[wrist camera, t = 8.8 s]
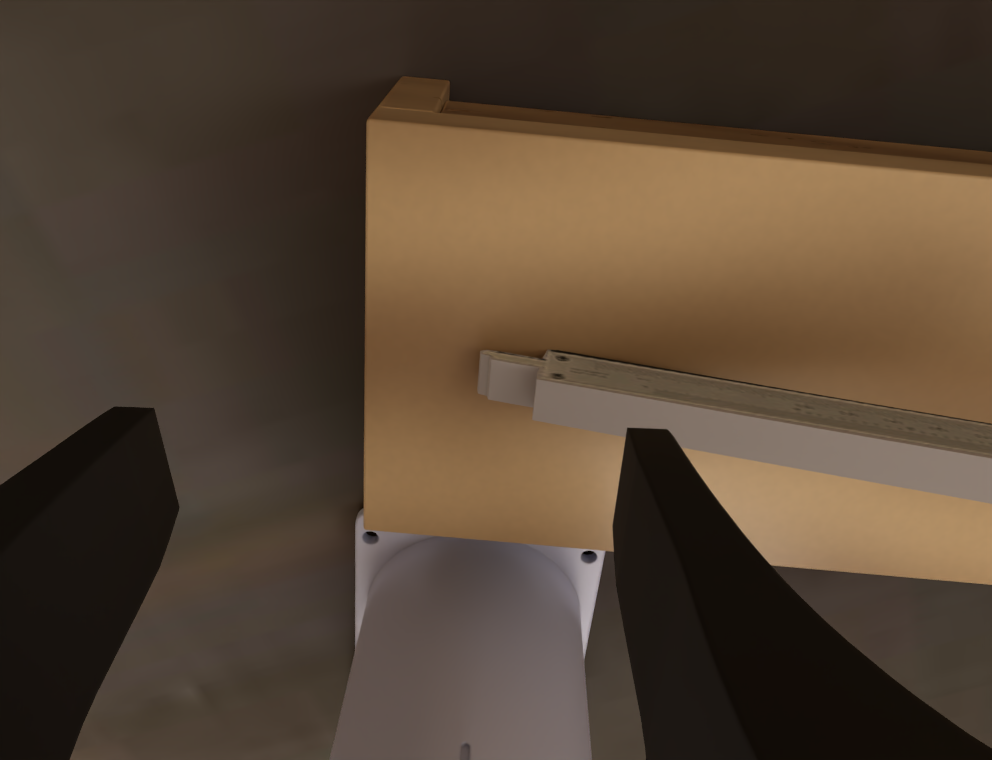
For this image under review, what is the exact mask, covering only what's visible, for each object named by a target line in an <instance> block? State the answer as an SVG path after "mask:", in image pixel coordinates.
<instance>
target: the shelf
mask: <svg viewBox="0 0 992 760" xmlns="http://www.w3.org/2000/svg"><path fill="white" fill-rule="evenodd" d="M449 94H450V82H449V81H448V80H439V79H428V78H418V77H407V76H402V77H401V78H400V79H399V81H398V82H397V83H396V84H395V85H394V87H393V88H392V89H391V90H390V92H389V93H388V94H387V95H386V97H385V98H384V99H383V100H382V102H381V103H380V104H379V105H378V107H377V108H376V109H375V110H374V112H373V113H372V114H371V115H370V117H369V118H368V119H367V121H366V242H365V379H364V517H363V527H364V529H365V530H372V531H384V532H395V533H407V534H418V535H430V536H441V537H452V538H464V539H475V540H487V541H498V542H510V543H521V544H532V545H544V546H555V547H567V548H578V549H590V550H601V551H612V552H614V546H613V529H612V525H613V518H614V512H615V505H616V498H617V492H618V485H619V478H620V472H621V465H622V458H623V452H624V445H625V439H626V437H622V436H616V435H611V434H605V433H600V432H595V431H589V430H584V429H578V428H573V427H567V426H562V425H556V424H551V423H546V422H540V421H535V420H532V416H533V407H527V406H521V405H515V404H510V403H504V402H499V401H494V400H489V399H488V398H487V396H485V395H481V394H478V391H477V387H478V373H479V360H480V351H482V350H493V351H501V352H507V353H513V354H518V355H523V356H529V357H534V358H540V359H542V358H543V356H544V355H545V353H546V351H547V350H560V351H566V352H572V353H577V354H583V355H589V356H595V357H601V358H607V359H613V360H618V361H624V362H630V363H636V364H642V365H648V366H654V367H659V368H665V369H671V370H677V371H683V372H689V373H695V374H700V375H706V376H712V377H718V378H724V379H730V380H736V381H741V382H747V383H753V384H759V385H765V386H771V387H777V388H782V389H788V390H794V391H800V392H806V393H812V394H818V395H823V396H829V397H835V398H841V399H847V400H853V401H859V402H864V403H870V404H876V405H882V406H888V407H894V408H900V409H906V410H913V411H919V412H925V413H931V414H937V415H943V416H949V417H955V418H961V419H967V420H973V421H979V422H985V423H991V424H992V152H986V151H976V150H965V149H955V148H944V147H934V146H923V145H912V144H902V143H891V142H881V141H870V140H859V139H849V138H838V137H828V136H817V135H806V134H796V133H785V132H775V131H764V130H754V129H743V128H732V127H722V126H711V125H701V124H690V123H679V122H669V121H658V120H648V119H637V118H626V117H616V116H605V115H595V114H584V113H573V112H563V111H552V110H542V109H531V108H521V107H510V106H499V105H489V104H478V103H468V102H457V101H449ZM681 448H682V447H681ZM682 450H683V451H684V453H685V454H686V456H687V457H688V459H689V460H690V462H691V463H692V465H693V466H694V468H695V469H696V470H697V472H698V473H699V475H700V476H701V478H702V479H703V480H704V482H705V483H706V485H707V486H708V487H709V489H710V490H711V492H712V493H713V494H714V496H715V497H716V498H717V500H718V501H719V502H720V504H721V505H722V506H723V508H724V509H725V510H726V511H727V513H728V514H729V515H730V517H731V518H732V519H733V520H734V522H735V523H736V524H737V526H738V527H739V528H740V529H741V531H742V532H743V533H744V534H745V536H746V537H747V538H748V539H749V540H750V542H751V543H752V544H753V545H754V547H755V548H756V549H757V550H758V551H759V552H760V553H761V555H762V556H763V557H764V558H765V559H766V560H767V561H768V563H769V564H770V565H772V566H784V567H795V568H807V569H818V570H830V571H841V572H853V573H864V574H875V575H887V576H898V577H910V578H921V579H933V580H944V581H955V582H967V583H978V584H990V585H992V504H990V503H985V502H979V501H974V500H968V499H963V498H957V497H952V496H946V495H941V494H935V493H929V492H924V491H918V490H913V489H907V488H902V487H896V486H891V485H885V484H880V483H874V482H869V481H863V480H858V479H852V478H847V477H841V476H835V475H830V474H824V473H819V472H813V471H808V470H802V469H797V468H791V467H786V466H780V465H775V464H769V463H764V462H758V461H753V460H747V459H742V458H736V457H731V456H725V455H720V454H714V453H709V452H703V451H698V450H693V449H687V448H682Z"/></svg>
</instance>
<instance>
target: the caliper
mask: <svg viewBox="0 0 992 760" xmlns="http://www.w3.org/2000/svg"><path fill="white" fill-rule="evenodd" d="M477 391H478V394H481V395H485V396H487V398H488V399H489V400H494V401H499V402H504V403H510V404H515V405H521V406H527V407H533V416H532V420H535V421H540V422H546V423H551V424H556V425H562V426H567V427H573V428H578V429H584V430H589V431H595V432H600V433H605V434H611V435H616V436H622V437H626V432H627V428H652V429H668V430H669V431H670V432H671V434H672V435H673V436H674V437H675V439H676V440H677V442H678V444H679V445H680V447H682V448H687V449H693V450H698V451H703V452H709V453H714V454H720V455H725V456H731V457H736V458H742V459H747V460H753V461H758V462H764V463H769V464H775V465H780V466H786V467H791V468H797V469H802V470H808V471H813V472H819V473H824V474H830V475H835V476H841V477H847V478H852V479H858V480H863V481H869V482H874V483H880V484H885V485H891V486H896V487H902V488H907V489H913V490H918V491H924V492H929V493H935V494H941V495H946V496H952V497H957V498H963V499H968V500H974V501H979V502H985V503H990V504H992V424H991V423H985V422H979V421H973V420H967V419H961V418H955V417H949V416H943V415H937V414H931V413H925V412H919V411H913V410H906V409H900V408H894V407H888V406H882V405H876V404H870V403H864V402H859V401H853V400H847V399H841V398H835V397H829V396H823V395H818V394H812V393H806V392H800V391H794V390H788V389H782V388H777V387H771V386H765V385H759V384H753V383H747V382H741V381H736V380H730V379H724V378H718V377H712V376H706V375H700V374H695V373H689V372H683V371H677V370H671V369H665V368H659V367H654V366H648V365H642V364H636V363H630V362H624V361H618V360H613V359H607V358H601V357H595V356H589V355H583V354H577V353H572V352H566V351H560V350H547V351H546V353H545V355H544V356H543V358H542V359H540V358H534V357H529V356H523V355H518V354H513V353H507V352H501V351H493V350H482V351H480V360H479V373H478V387H477Z"/></svg>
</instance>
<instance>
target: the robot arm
mask: <svg viewBox="0 0 992 760" xmlns="http://www.w3.org/2000/svg"><path fill="white" fill-rule="evenodd" d="M178 511H179V504H178V500H177V496H176V492H175V488H174V484H173V480H172V476H171V473H170V469H169V465H168V461H167V457H166V453H165V449H164V445H163V441H162V437H161V433H160V429H159V425H158V422H157V418H156V414H155V410H154V408H138V407H113V408H111V409H110V410H108V411H107V412H105V413H103V414H102V415H100V416H99V417H97V418H96V419H94V420H93V421H91V422H90V423H88V424H87V425H85V426H84V427H83V428H81V429H80V430H78V431H77V432H75V433H74V434H73V435H71V436H70V437H68V438H67V439H66V440H64V441H63V442H61V443H60V444H59V445H57V446H56V447H54V448H53V449H51V450H50V451H49V452H47V453H46V454H44V455H43V456H42V457H40V458H39V459H37V460H36V461H34V462H33V463H32V464H30V465H29V466H27V467H26V468H24V469H23V470H21V471H20V472H19V473H17V474H16V475H14V476H13V477H11V478H10V479H9V480H7V481H6V482H4V483H3V484H1V485H0V760H69V759H70V757H71V754H72V751H73V749H74V746H75V743H76V741H77V738H78V735H79V733H80V730H81V728H82V725H83V723H84V720H85V718H86V716H87V714H88V711H89V709H90V707H91V705H92V703H93V700H94V698H95V696H96V694H97V692H98V690H99V688H100V686H101V684H102V682H103V680H104V678H105V676H106V674H107V672H108V670H109V668H110V666H111V664H112V662H113V660H114V658H115V656H116V654H117V652H118V650H119V648H120V646H121V644H122V642H123V640H124V638H125V636H126V634H127V632H128V630H129V628H130V626H131V624H132V622H133V620H134V618H135V616H136V614H137V612H138V610H139V608H140V606H141V604H142V602H143V600H144V598H145V596H146V594H147V592H148V590H149V588H150V586H151V584H152V582H153V580H154V578H155V576H156V574H157V572H158V569H159V567H160V565H161V562H162V559H163V556H164V554H165V551H166V548H167V545H168V542H169V539H170V536H171V533H172V530H173V527H174V524H175V521H176V517H177V514H178ZM363 517H364V508H362V509H361V510H360V511H359V512H358V515H357V518H356V522H355V653H354V658H353V662H352V666H351V670H350V675H349V679H348V683H347V687H346V692H345V696H344V700H343V704H342V709H341V713H340V717H339V721H338V726H337V730H336V734H335V738H334V743H333V747H332V751H331V755H330V760H592V756H591V743H590V730H589V718H588V705H587V692H586V679H585V666H584V658H585V653H586V648H587V643H588V638H589V633H590V627H591V622H592V617H593V612H594V607H595V602H596V597H597V592H598V586H599V581H600V576H601V571H602V566H603V561H604V556H605V551H601V550H590V549H578V548H567V547H555V546H544V545H532V544H521V543H510V542H498V541H487V540H475V539H464V538H452V537H441V536H430V535H418V534H407V533H395V532H384V531H372V530H365V529H364V527H363ZM612 529H613V546H614V562H615V576H616V587H617V593H618V598H619V604H620V609H621V615H622V620H623V626H624V631H625V636H626V642H627V647H628V652H629V657H630V663H631V668H632V673H633V679H634V684H635V689H636V694H637V700H638V705H639V710H640V716H641V722H642V729H643V736H644V743H645V750H646V760H992V749H991V748H990V747H988V746H987V745H985V744H984V743H982V742H980V741H979V740H977V739H976V738H974V737H973V736H971V735H970V734H968V733H967V732H965V731H964V730H962V729H961V728H959V727H958V726H957V725H955V724H954V723H952V722H951V721H950V720H948V719H947V718H945V717H944V716H943V715H941V714H940V713H938V712H937V711H936V710H934V709H933V708H932V707H930V706H929V705H927V704H926V703H925V702H923V701H922V700H920V699H919V698H918V697H916V696H915V695H914V694H912V693H911V692H910V691H908V690H907V689H906V688H905V687H903V686H902V685H901V684H899V683H898V682H897V681H895V680H894V679H893V678H892V677H890V676H889V675H888V674H887V673H885V672H884V671H883V670H882V669H881V668H879V667H878V666H877V665H876V664H875V663H873V662H872V661H871V660H870V659H868V658H867V657H866V656H865V655H864V654H862V653H861V652H860V651H859V650H858V649H856V648H855V647H854V646H853V645H852V644H850V643H849V642H848V641H847V640H846V639H845V638H843V637H842V636H841V635H840V634H839V633H838V632H837V631H836V630H835V629H833V628H832V627H831V626H830V625H829V624H828V623H827V622H826V621H825V620H824V619H823V618H822V617H820V616H819V615H818V614H817V613H816V612H815V611H814V610H813V609H812V608H811V607H810V606H809V605H808V604H807V603H806V602H805V601H804V600H803V599H802V598H801V597H800V596H799V595H798V594H797V593H796V592H795V591H794V590H793V589H792V588H791V587H790V586H789V585H788V584H787V583H786V581H785V580H784V579H783V578H782V577H781V576H780V575H779V574H778V573H777V572H776V571H775V569H774V568H773V567H772V566H771V565H770V564H769V563H768V561H767V560H766V559H765V558H764V557H763V556H762V555H761V553H760V552H759V551H758V550H757V549H756V548H755V547H754V545H753V544H752V543H751V542H750V540H749V539H748V538H747V537H746V536H745V534H744V533H743V532H742V531H741V529H740V528H739V527H738V526H737V524H736V523H735V522H734V520H733V519H732V518H731V517H730V515H729V514H728V513H727V511H726V510H725V509H724V508H723V506H722V505H721V504H720V502H719V501H718V500H717V498H716V497H715V496H714V494H713V493H712V492H711V490H710V489H709V487H708V486H707V485H706V483H705V482H704V480H703V479H702V478H701V476H700V475H699V473H698V472H697V470H696V469H695V468H694V466H693V465H692V463H691V462H690V460H689V459H688V457H687V456H686V454H685V453H684V451H683V450H682V448H681V447H680V445H679V444H678V442H677V440H676V439H675V437H674V436H673V435H672V434H671V432H670V431H669V430H668V429H652V428H627V432H626V439H625V445H624V452H623V458H622V465H621V472H620V478H619V485H618V492H617V498H616V505H615V512H614V518H613V525H612ZM369 531H372V532H375V533H376V534H377V536H370V535H368V534H367V533H366V532H369ZM589 550H590V551H594V553H593V554H591V555H585V554H583V552H585V551H589Z"/></svg>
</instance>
